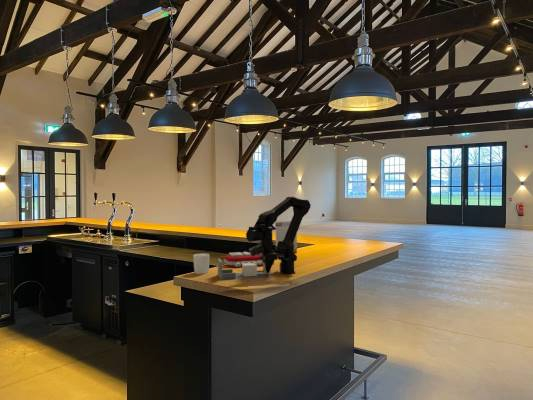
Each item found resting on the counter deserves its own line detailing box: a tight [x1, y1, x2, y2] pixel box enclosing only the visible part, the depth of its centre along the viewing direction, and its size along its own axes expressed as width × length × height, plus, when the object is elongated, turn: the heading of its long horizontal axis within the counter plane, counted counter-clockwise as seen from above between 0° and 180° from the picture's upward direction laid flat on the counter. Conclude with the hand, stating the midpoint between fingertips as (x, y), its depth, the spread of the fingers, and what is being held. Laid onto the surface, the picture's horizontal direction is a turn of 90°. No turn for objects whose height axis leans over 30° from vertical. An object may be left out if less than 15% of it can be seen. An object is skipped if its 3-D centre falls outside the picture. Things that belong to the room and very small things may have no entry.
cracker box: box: [274, 220, 298, 254], centre depth 266 cm, size 14×6×21 cm, turn 84°
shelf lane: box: [217, 258, 273, 281], centre depth 188 cm, size 24×14×9 cm, turn 104°
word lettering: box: [223, 251, 275, 269], centre depth 224 cm, size 27×7×30 cm
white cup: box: [192, 253, 210, 275], centre depth 198 cm, size 8×8×10 cm
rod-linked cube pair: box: [241, 262, 272, 277], centre depth 190 cm, size 13×6×6 cm, turn 104°
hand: (266, 272), depth 191 cm, fingers closed on rod-linked cube pair, 3 cm apart
